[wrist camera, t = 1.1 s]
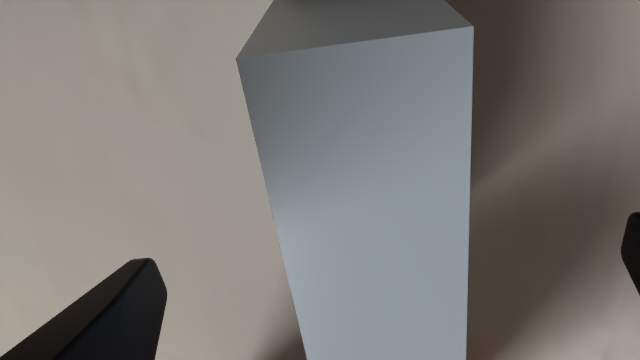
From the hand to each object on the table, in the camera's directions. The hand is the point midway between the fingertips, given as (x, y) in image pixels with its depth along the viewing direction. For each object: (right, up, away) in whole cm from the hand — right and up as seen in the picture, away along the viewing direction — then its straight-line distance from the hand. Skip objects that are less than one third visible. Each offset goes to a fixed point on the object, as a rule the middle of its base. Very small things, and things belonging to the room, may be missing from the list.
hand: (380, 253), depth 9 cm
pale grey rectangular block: (0, +3, +5) cm, 6 cm away
